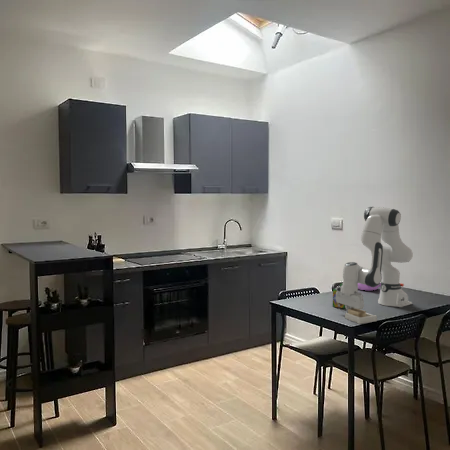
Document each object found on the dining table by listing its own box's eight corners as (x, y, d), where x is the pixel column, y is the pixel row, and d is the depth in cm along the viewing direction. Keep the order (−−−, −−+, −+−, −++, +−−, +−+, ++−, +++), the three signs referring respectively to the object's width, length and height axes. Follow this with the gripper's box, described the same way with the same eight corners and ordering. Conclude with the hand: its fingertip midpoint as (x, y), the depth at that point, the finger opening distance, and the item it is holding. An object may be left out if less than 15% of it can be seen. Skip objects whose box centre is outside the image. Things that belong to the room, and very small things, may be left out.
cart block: (355, 316, 270) (356, 308, 270) (365, 319, 263) (365, 311, 262) (347, 317, 267) (348, 309, 267) (357, 321, 260) (357, 312, 260)
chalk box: (345, 309, 287) (346, 285, 286) (331, 306, 293) (332, 283, 292) (351, 306, 294) (352, 283, 293) (338, 304, 300) (339, 281, 299)
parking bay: (361, 315, 271) (361, 310, 271) (376, 320, 261) (376, 315, 261) (344, 318, 265) (344, 313, 265) (359, 323, 254) (359, 318, 254)
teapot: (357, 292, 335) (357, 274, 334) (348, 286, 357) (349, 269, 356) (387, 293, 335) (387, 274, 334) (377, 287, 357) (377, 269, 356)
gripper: (367, 293, 262) (366, 316, 263) (342, 286, 280) (341, 308, 281) (358, 294, 259) (357, 318, 260) (334, 287, 277) (333, 309, 278)
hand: (349, 313), depth 270 cm, fingers closed
